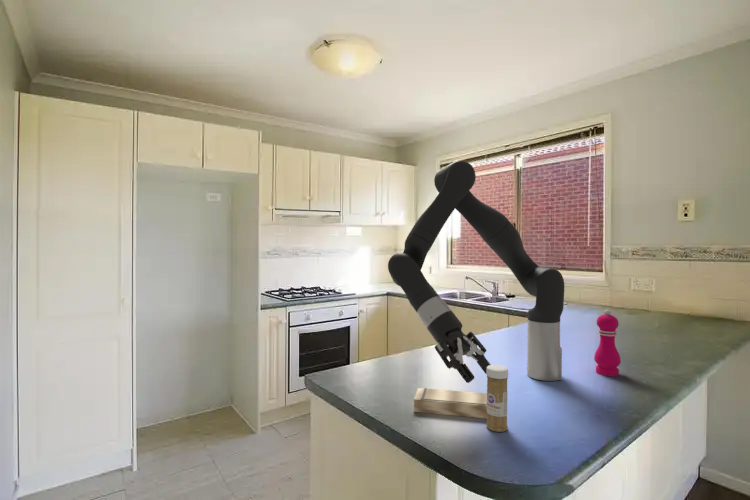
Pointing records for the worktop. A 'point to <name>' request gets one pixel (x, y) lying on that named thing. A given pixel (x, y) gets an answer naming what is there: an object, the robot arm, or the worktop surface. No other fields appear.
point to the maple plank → (451, 402)
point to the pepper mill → (607, 346)
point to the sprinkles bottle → (497, 397)
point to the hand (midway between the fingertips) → (481, 376)
